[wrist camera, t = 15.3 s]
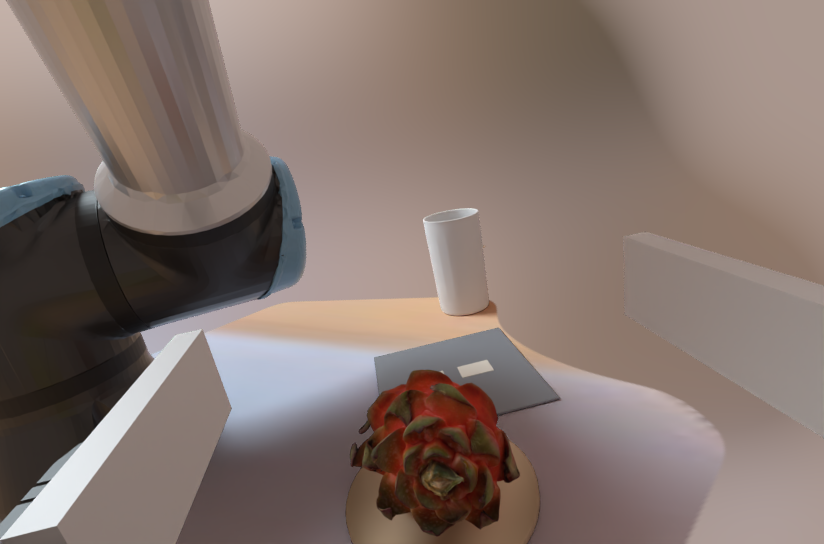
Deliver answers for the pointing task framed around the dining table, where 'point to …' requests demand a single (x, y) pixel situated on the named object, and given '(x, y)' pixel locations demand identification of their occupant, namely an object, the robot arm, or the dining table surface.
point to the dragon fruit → (437, 452)
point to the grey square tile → (472, 369)
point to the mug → (457, 260)
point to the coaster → (404, 540)
